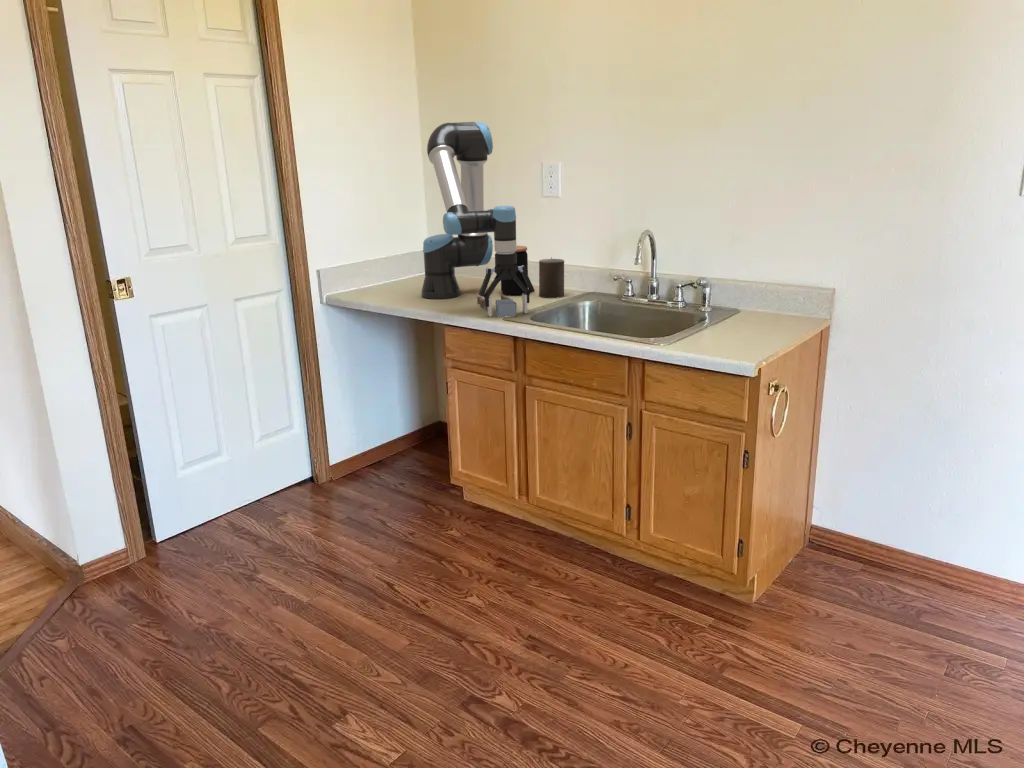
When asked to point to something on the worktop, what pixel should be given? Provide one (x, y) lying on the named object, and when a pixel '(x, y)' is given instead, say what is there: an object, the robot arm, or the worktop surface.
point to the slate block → (505, 307)
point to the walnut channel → (482, 301)
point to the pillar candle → (551, 278)
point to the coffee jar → (510, 285)
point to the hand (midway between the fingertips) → (507, 314)
